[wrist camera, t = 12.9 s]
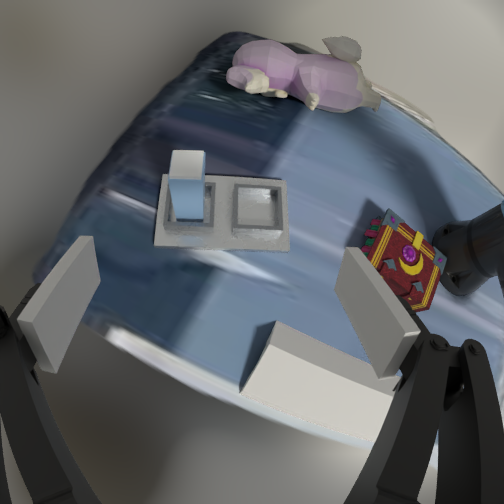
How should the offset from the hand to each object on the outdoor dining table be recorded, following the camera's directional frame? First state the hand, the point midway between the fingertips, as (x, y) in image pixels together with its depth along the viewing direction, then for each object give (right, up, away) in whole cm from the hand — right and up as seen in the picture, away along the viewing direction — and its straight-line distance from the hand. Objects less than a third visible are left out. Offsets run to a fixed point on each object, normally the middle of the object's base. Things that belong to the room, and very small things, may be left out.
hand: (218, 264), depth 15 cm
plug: (-8, +7, +29) cm, 31 cm away
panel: (-3, +7, +31) cm, 32 cm away
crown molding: (+15, -21, +27) cm, 37 cm away
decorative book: (+27, -2, +34) cm, 43 cm away
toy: (+11, +33, +42) cm, 55 cm away
